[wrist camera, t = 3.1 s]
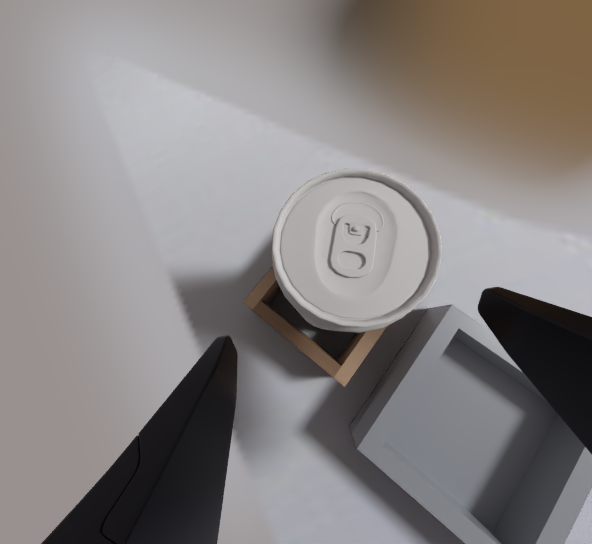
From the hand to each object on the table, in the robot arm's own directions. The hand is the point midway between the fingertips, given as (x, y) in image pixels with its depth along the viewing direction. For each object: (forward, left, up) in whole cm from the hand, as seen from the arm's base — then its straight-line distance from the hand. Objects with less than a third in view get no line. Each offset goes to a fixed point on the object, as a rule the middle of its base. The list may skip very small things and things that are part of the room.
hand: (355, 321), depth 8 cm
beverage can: (+1, +2, -10) cm, 10 cm away
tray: (+4, -9, -9) cm, 14 cm away
